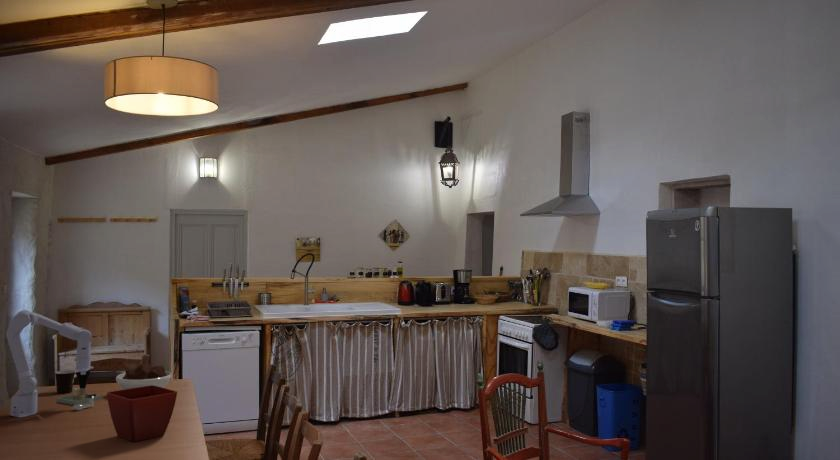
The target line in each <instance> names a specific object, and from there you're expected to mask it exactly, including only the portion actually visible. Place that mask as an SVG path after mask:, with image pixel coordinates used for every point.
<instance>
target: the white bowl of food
mask: <svg viewBox="0 0 840 460" xmlns="http://www.w3.org/2000/svg"><path fill="white" fill-rule="evenodd" d="M171 378H172V373H171V372H170V371H167V370H166V369H165V366H164V365H157V366H152V365H151V364H150V363H144V364H143V363H142V364H138V366H137V367H135V368H133V369H125V372H123V373H120V374H117V375H116V377H115V381H116V383H117V385H119V387H121V390H124V389H131V388H137V387H144V386H150V385H154V386H158V387H162V388H165V387H166V385H167V384H168V383H169V381H170V380H171Z"/></svg>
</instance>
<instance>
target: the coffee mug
mask: <svg viewBox="0 0 840 460" xmlns="http://www.w3.org/2000/svg"><path fill="white" fill-rule="evenodd" d="M54 375H55V384H56V386H55V387H56V392H57V394H59V395H66V394H71V393H73V388H74V381H75V376H76V370H69V369H68V370H58V371H55V372H54Z"/></svg>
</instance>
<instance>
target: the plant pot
mask: <svg viewBox="0 0 840 460" xmlns="http://www.w3.org/2000/svg"><path fill="white" fill-rule="evenodd" d="M177 395H178V391H177V390H173V389H171V388H165V387H164V388H162V387H158V386H154V385H150V386H144V387H137V388H131V389H124V390H123V389H119V390H112V391H108V392H106V396H107V397H106V398H107V403H108V409H109V413H110V417H111V420H112V424H113V427H114V430H115V433H116V435H117V437H120V438H123V439H124V440H127V441H130V442H131V443H132V442H140V441H145V440H149V439H152V438H153V439H154V438H158V437H162V436H165V433H166V432H167V429H168V426H169V424H170V421H171V418H172V416H173V413H174V409H175V405H176V400H177Z"/></svg>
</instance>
